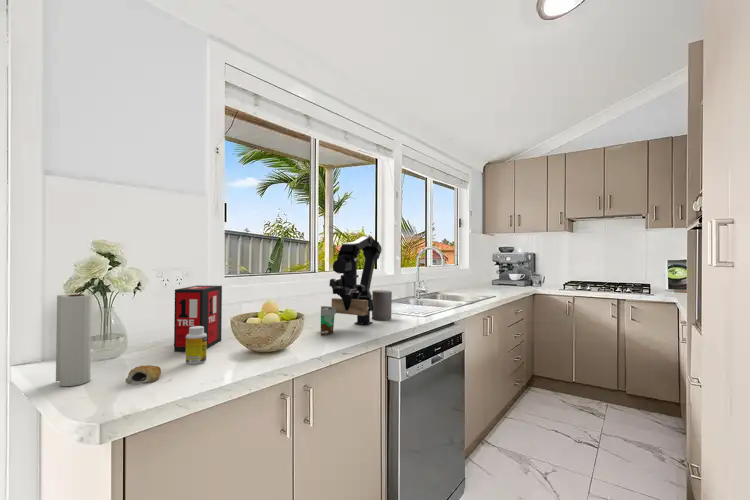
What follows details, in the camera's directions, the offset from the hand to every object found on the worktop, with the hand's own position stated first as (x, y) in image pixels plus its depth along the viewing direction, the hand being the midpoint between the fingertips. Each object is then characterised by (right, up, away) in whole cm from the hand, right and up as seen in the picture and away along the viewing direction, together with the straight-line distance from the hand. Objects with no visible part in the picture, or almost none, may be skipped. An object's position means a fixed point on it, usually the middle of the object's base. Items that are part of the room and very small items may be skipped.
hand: (349, 309), depth 168 cm
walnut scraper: (0, -2, 0) cm, 2 cm away
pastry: (-47, -8, -68) cm, 83 cm away
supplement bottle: (-41, -8, -52) cm, 67 cm away
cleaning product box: (-49, -8, -32) cm, 59 cm away
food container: (-8, -8, -8) cm, 14 cm away
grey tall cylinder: (-62, -7, -71) cm, 95 cm away
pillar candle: (+14, -9, +28) cm, 32 cm away
